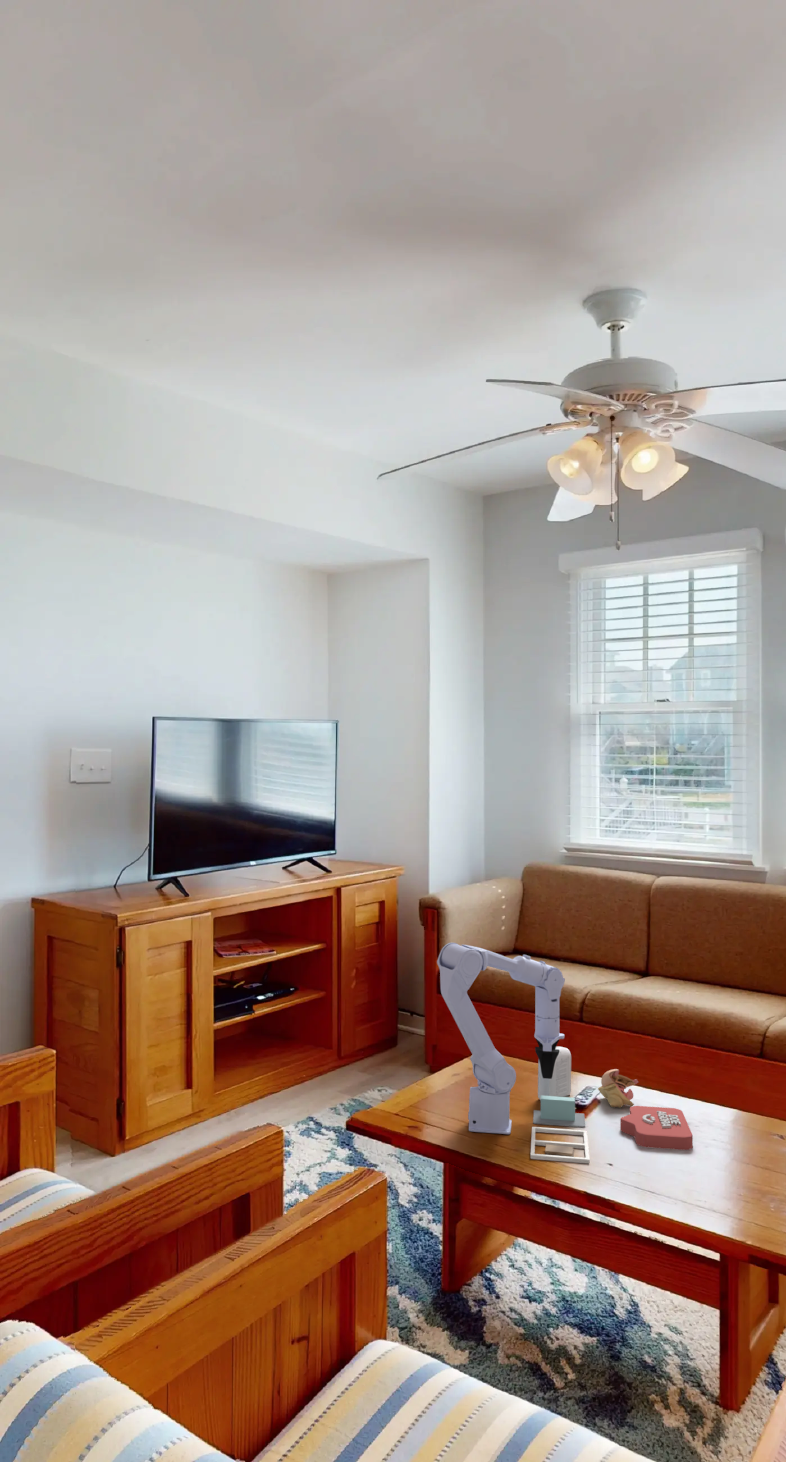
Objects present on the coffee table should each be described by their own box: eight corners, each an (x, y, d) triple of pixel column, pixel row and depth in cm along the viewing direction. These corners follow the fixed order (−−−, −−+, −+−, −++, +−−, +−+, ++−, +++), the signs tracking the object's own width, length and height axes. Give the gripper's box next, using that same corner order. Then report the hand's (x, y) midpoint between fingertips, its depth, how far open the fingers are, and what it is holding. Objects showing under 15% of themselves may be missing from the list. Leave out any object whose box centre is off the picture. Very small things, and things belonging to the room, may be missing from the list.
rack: (530, 1158, 205) (530, 1155, 205) (532, 1130, 221) (532, 1126, 221) (589, 1163, 203) (589, 1159, 203) (586, 1134, 219) (586, 1130, 219)
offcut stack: (545, 1157, 207) (545, 1150, 207) (546, 1151, 210) (546, 1144, 210) (573, 1160, 205) (573, 1153, 205) (574, 1154, 209) (574, 1147, 209)
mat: (533, 1123, 224) (533, 1122, 224) (533, 1111, 232) (533, 1110, 232) (585, 1127, 223) (585, 1126, 223) (584, 1115, 230) (584, 1113, 230)
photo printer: (559, 1090, 248) (559, 1042, 248) (573, 1094, 244) (573, 1045, 245) (535, 1099, 240) (535, 1050, 241) (549, 1104, 237) (549, 1054, 238)
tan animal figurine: (633, 1116, 232) (605, 1087, 232) (608, 1123, 239) (580, 1096, 239) (647, 1087, 238) (620, 1059, 238) (622, 1095, 245) (595, 1068, 245)
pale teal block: (540, 1118, 227) (540, 1099, 227) (540, 1114, 229) (540, 1095, 229) (574, 1121, 226) (575, 1101, 226) (574, 1117, 228) (574, 1097, 228)
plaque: (616, 1102, 230) (681, 1106, 228) (616, 1118, 230) (681, 1122, 228) (624, 1130, 212) (694, 1135, 210) (624, 1148, 212) (693, 1152, 210)
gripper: (564, 1024, 222) (564, 1084, 221) (563, 1008, 236) (563, 1064, 236) (533, 1023, 223) (533, 1082, 223) (534, 1007, 237) (534, 1062, 237)
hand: (547, 1072), depth 229 cm, fingers open, 7 cm apart
